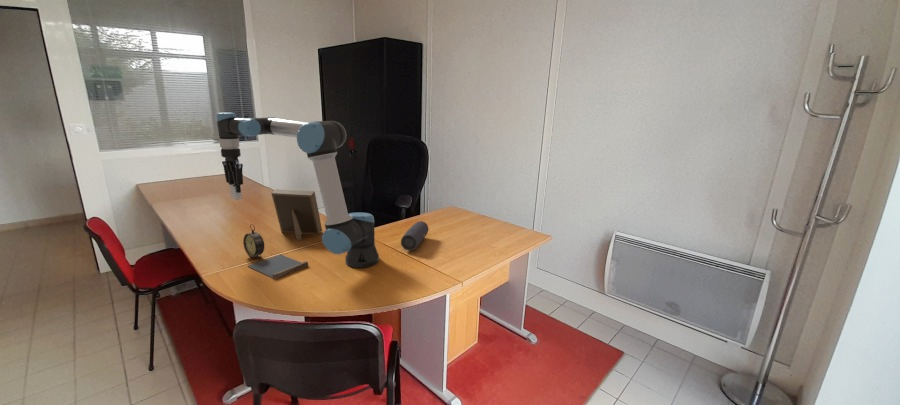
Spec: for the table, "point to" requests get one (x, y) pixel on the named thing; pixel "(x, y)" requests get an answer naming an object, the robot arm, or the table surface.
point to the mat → (273, 265)
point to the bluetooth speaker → (414, 235)
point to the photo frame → (297, 212)
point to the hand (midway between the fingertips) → (236, 198)
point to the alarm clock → (253, 243)
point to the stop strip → (290, 270)
